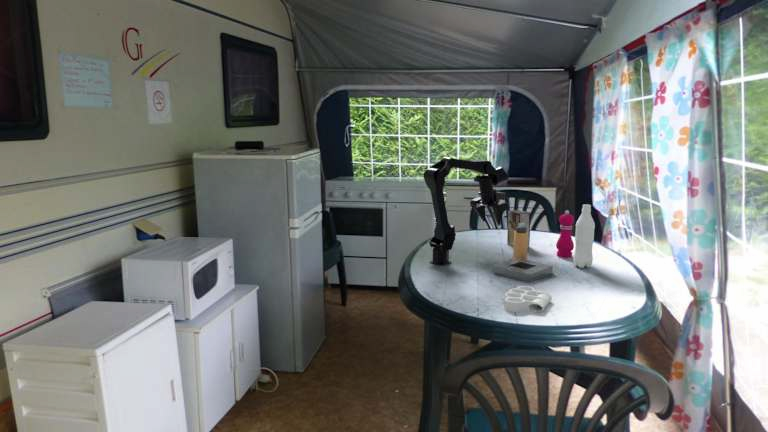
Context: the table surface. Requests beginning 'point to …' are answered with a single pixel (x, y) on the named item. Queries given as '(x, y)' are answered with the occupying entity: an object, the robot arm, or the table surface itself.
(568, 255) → the pepper mill
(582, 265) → the water bottle
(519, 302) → the white flat lumpy part
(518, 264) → the grey square frame
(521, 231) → the plug
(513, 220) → the coffee box
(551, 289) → the table surface
